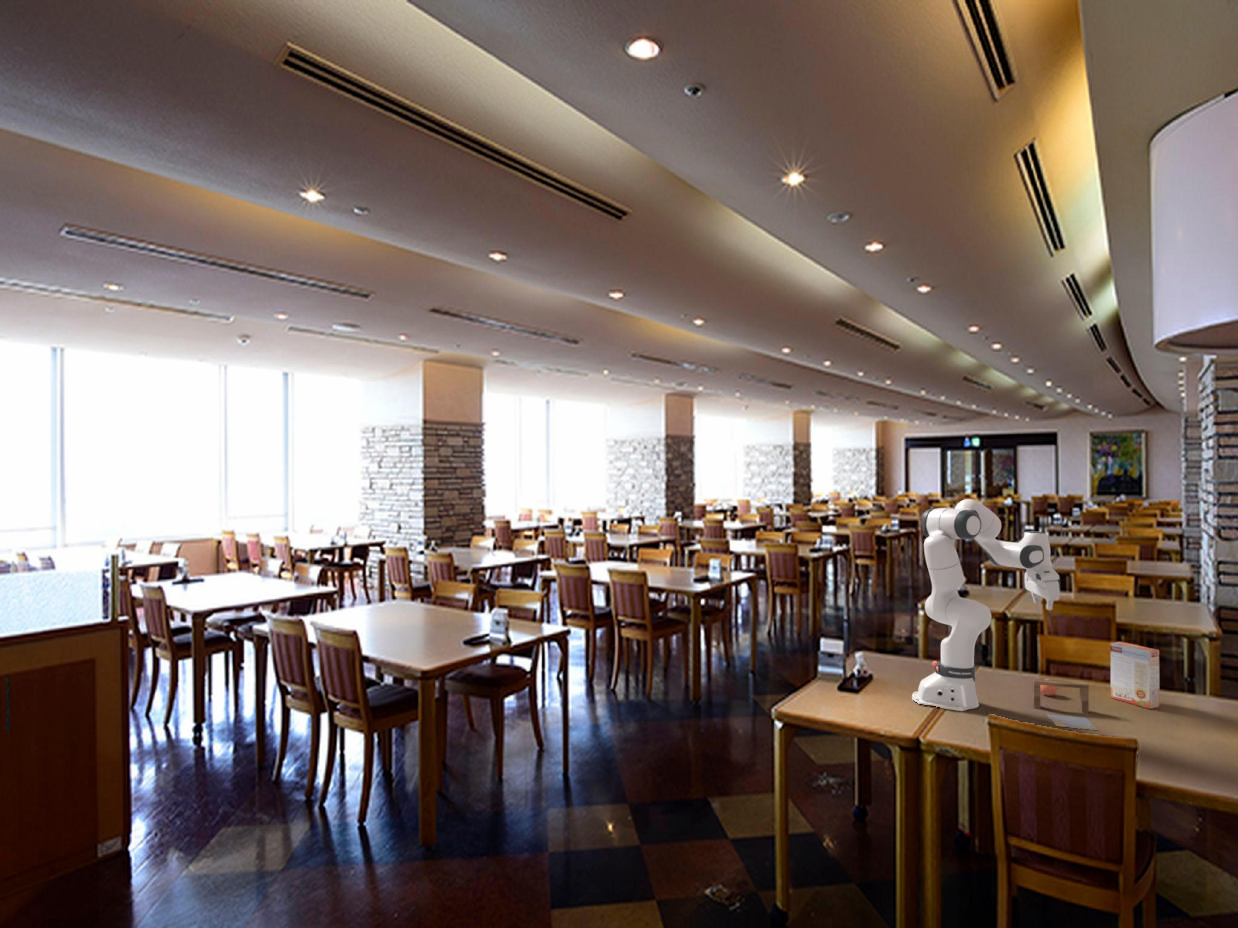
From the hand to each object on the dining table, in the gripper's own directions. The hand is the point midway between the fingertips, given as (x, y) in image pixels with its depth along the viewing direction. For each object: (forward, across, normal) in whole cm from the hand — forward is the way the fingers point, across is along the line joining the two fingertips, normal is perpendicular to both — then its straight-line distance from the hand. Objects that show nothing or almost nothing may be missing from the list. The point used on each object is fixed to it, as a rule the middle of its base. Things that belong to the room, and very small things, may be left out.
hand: (1043, 606), depth 280 cm
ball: (+28, +11, -6) cm, 30 cm away
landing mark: (+28, +40, -13) cm, 51 cm away
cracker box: (+34, +18, +20) cm, 43 cm away
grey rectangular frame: (+29, +27, -10) cm, 41 cm away
